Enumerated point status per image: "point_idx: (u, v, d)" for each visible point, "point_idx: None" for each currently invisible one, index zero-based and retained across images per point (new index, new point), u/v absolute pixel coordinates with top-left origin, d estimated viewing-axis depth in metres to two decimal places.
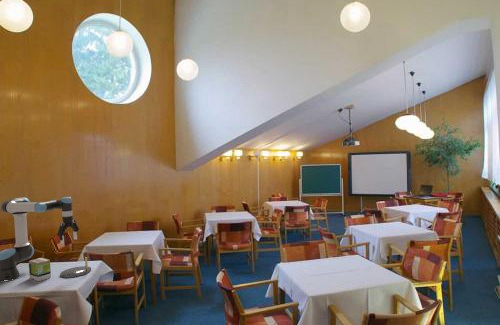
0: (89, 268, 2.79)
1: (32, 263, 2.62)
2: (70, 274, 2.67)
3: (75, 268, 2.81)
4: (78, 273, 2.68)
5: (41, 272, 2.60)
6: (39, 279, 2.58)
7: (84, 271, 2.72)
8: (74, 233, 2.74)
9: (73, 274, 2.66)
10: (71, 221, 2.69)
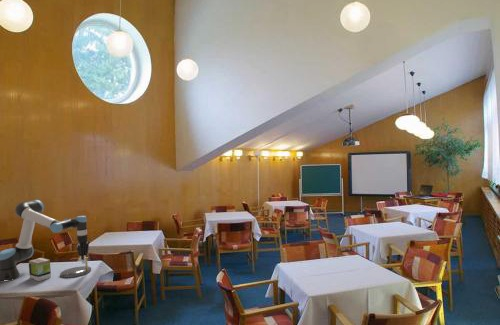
0: (89, 268, 2.79)
1: (32, 263, 2.62)
2: (70, 274, 2.67)
3: (75, 268, 2.81)
4: (78, 273, 2.68)
5: (41, 272, 2.60)
6: (39, 279, 2.58)
7: (84, 271, 2.72)
8: None
9: (73, 274, 2.66)
10: (86, 239, 2.71)
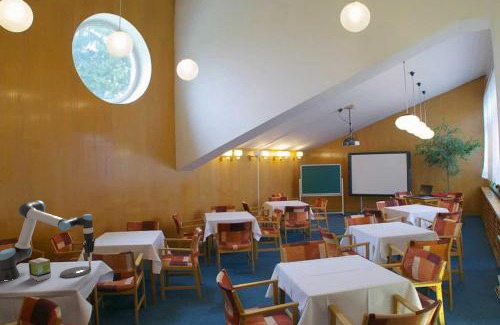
0: (87, 267, 2.83)
1: (32, 263, 2.62)
2: (74, 273, 2.68)
3: (70, 269, 2.78)
4: (83, 271, 2.71)
5: (41, 272, 2.60)
6: (39, 279, 2.58)
7: (87, 269, 2.76)
8: None
9: (79, 273, 2.68)
10: (92, 237, 2.77)
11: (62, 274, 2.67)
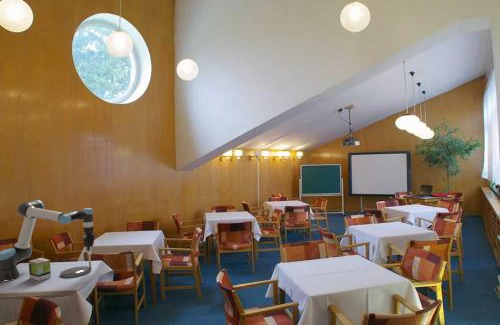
0: (86, 266, 2.83)
1: (32, 263, 2.62)
2: (75, 273, 2.68)
3: (69, 269, 2.78)
4: (84, 271, 2.72)
5: (41, 272, 2.60)
6: (39, 279, 2.58)
7: (87, 269, 2.77)
8: None
9: (80, 272, 2.69)
10: (92, 231, 2.78)
11: (62, 274, 2.66)
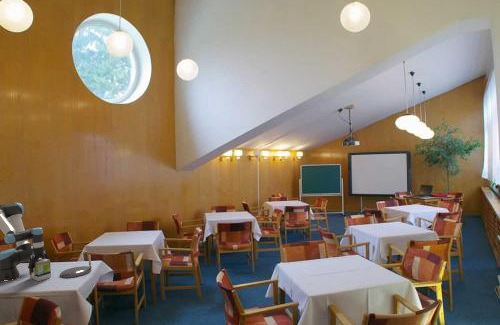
0: (86, 266, 2.83)
1: None
2: (75, 273, 2.68)
3: (69, 269, 2.78)
4: (84, 271, 2.72)
5: (41, 272, 2.60)
6: (39, 279, 2.58)
7: (87, 269, 2.77)
8: None
9: (80, 272, 2.69)
10: (42, 252, 2.68)
11: (62, 274, 2.66)
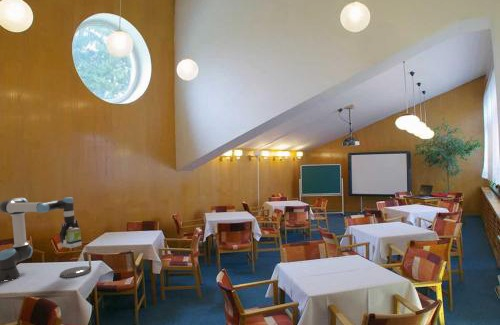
0: (86, 266, 2.83)
1: None
2: (75, 273, 2.68)
3: (69, 269, 2.78)
4: (84, 271, 2.72)
5: (73, 240, 2.67)
6: (71, 246, 2.65)
7: (87, 269, 2.77)
8: None
9: (80, 272, 2.69)
10: (73, 221, 2.74)
11: (62, 274, 2.66)
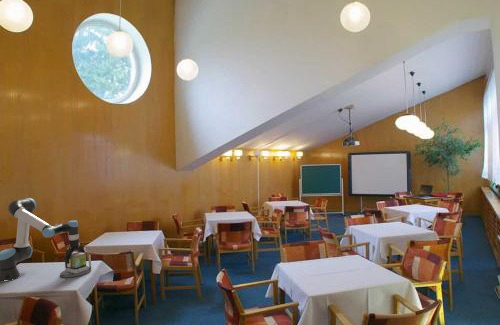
0: (86, 266, 2.83)
1: None
2: None
3: None
4: (84, 271, 2.72)
5: (78, 265, 2.69)
6: (76, 272, 2.67)
7: (87, 269, 2.77)
8: None
9: (80, 272, 2.69)
10: (77, 244, 2.76)
11: (62, 274, 2.66)
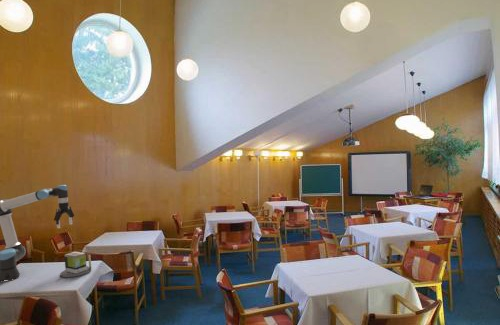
0: (86, 266, 2.83)
1: (69, 256, 2.70)
2: None
3: None
4: (84, 271, 2.72)
5: (78, 265, 2.69)
6: (76, 272, 2.67)
7: (87, 269, 2.77)
8: (70, 219, 2.94)
9: (80, 272, 2.69)
10: (67, 207, 2.90)
11: (62, 274, 2.66)
